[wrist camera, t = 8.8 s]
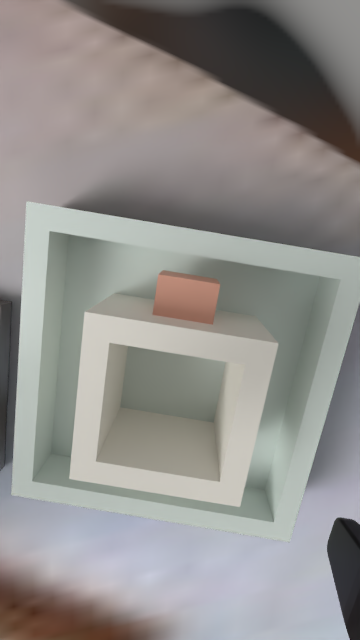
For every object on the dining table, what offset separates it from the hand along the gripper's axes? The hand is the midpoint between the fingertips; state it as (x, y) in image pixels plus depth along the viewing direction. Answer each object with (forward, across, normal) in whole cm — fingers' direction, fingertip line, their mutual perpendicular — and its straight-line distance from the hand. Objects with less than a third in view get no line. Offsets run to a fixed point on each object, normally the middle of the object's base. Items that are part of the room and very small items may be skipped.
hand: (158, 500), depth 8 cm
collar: (+9, 0, 0) cm, 9 cm away
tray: (+10, 0, 0) cm, 10 cm away
